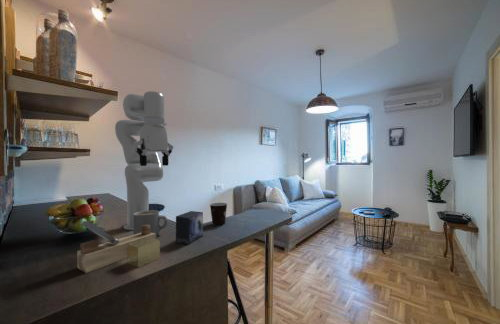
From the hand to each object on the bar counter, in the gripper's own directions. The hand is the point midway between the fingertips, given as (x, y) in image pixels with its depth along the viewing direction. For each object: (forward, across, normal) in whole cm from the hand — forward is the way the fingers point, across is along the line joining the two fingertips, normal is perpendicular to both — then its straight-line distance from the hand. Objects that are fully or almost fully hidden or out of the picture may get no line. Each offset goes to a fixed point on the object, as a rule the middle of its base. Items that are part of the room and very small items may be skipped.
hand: (154, 165), depth 86 cm
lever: (+24, +18, +3) cm, 30 cm away
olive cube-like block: (+30, +13, +13) cm, 35 cm away
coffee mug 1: (+31, -3, -8) cm, 32 cm away
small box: (+31, -8, +11) cm, 33 cm away
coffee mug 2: (+31, -30, +6) cm, 43 cm away
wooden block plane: (+30, +15, +3) cm, 34 cm away
